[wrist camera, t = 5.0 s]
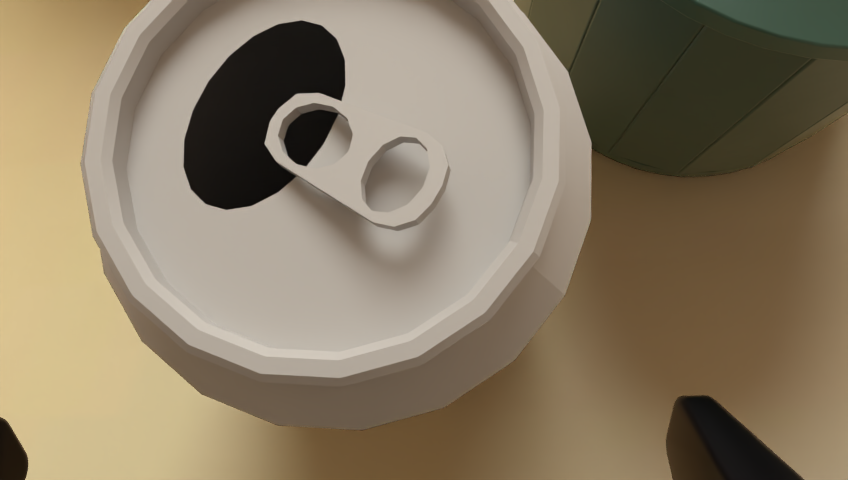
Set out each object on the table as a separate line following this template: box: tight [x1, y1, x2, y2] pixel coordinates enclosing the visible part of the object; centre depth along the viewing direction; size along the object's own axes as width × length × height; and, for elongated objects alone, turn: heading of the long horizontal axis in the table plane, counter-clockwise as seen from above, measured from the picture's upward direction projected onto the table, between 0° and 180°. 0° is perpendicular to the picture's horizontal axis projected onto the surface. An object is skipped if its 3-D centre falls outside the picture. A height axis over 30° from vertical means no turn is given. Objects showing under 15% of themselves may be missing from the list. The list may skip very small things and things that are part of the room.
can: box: [81, 0, 592, 430], centre depth 14 cm, size 8×8×12 cm
